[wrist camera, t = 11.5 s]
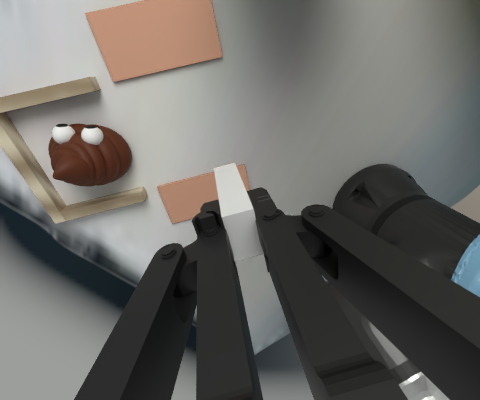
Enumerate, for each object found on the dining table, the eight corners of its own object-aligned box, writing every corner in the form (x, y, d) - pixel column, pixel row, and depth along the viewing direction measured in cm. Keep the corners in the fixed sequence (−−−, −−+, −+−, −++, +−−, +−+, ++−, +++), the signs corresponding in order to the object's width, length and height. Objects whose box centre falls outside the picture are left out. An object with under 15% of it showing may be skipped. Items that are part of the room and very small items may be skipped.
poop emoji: (62, 177, 35) (23, 210, 27) (47, 116, 32) (-5, 132, 23) (136, 179, 37) (119, 210, 29) (129, 121, 33) (108, 138, 25)
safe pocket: (147, 194, 39) (145, 200, 37) (61, 216, 38) (55, 223, 36) (94, 76, 30) (88, 77, 29) (-16, 102, 30) (-29, 104, 28)
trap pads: (252, 201, 42) (252, 202, 42) (172, 222, 42) (172, 223, 41) (208, -13, 28) (208, -14, 28) (86, 14, 27) (85, 13, 27)
